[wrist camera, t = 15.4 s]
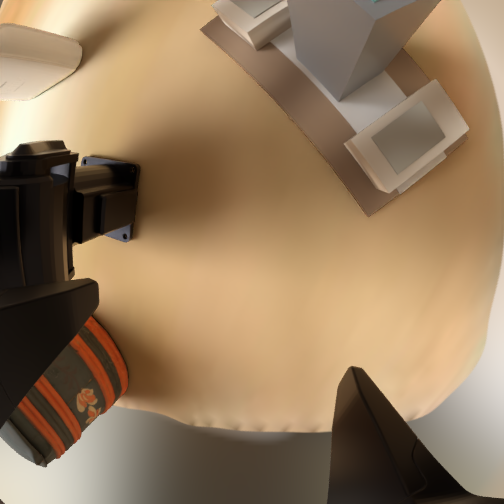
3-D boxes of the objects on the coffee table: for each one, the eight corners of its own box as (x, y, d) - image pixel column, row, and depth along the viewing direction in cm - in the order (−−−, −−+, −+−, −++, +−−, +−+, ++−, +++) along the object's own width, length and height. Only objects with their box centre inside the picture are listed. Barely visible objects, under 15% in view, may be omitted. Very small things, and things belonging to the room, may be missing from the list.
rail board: (462, 139, 14) (493, 136, 10) (366, 215, 18) (380, 228, 14) (302, -30, 12) (298, -60, 8) (203, 33, 16) (181, 10, 12)
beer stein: (51, 367, 33) (-22, 437, 14) (20, 285, 29) (-79, 349, 10) (143, 406, 29) (66, 520, 11) (111, 308, 25) (-31, 435, 6)
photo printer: (27, 105, 20) (-57, 108, 9) (30, 74, 19) (-50, 70, 7) (82, 72, 18) (-23, 55, 7) (86, 37, 17) (-8, 10, 5)
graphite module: (338, 102, 15) (376, 18, 5) (296, 58, 14) (275, -53, 4) (382, 72, 14) (452, -14, 3) (340, 30, 13) (360, -81, 3)
